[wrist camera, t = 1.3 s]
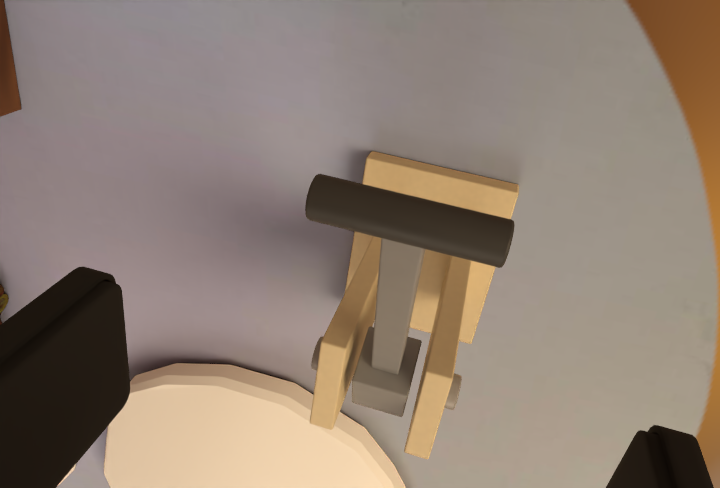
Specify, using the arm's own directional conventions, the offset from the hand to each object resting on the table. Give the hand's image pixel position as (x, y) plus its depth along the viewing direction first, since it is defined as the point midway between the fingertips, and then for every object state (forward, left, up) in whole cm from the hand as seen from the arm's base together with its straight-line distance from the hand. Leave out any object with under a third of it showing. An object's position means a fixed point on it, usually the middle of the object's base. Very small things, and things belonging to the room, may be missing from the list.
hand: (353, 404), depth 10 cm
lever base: (+9, 0, -21) cm, 23 cm away
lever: (+3, 0, -9) cm, 10 cm away
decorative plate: (+34, -9, -22) cm, 41 cm away
